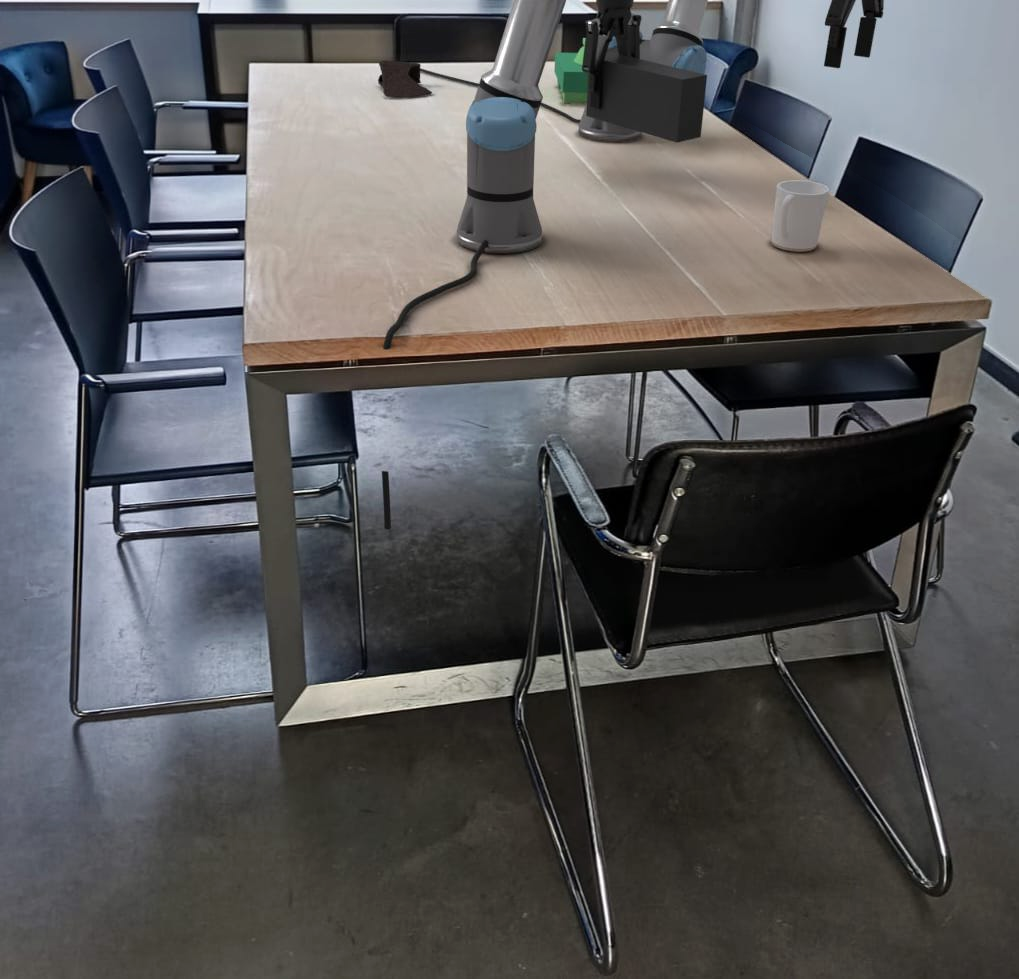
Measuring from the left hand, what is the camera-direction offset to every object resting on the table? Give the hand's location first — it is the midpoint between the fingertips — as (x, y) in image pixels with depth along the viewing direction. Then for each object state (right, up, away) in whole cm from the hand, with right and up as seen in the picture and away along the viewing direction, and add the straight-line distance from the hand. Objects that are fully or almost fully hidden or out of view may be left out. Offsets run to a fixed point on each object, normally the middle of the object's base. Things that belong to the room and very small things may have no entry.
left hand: (847, 61), depth 194 cm
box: (-33, -1, +30) cm, 45 cm away
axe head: (-89, +33, +106) cm, 142 cm away
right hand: (-39, +5, +36) cm, 53 cm away
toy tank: (-38, +34, +109) cm, 121 cm away
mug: (-10, -33, +2) cm, 34 cm away
